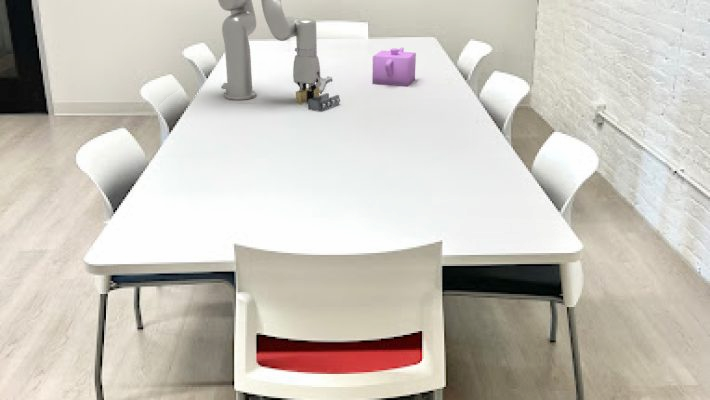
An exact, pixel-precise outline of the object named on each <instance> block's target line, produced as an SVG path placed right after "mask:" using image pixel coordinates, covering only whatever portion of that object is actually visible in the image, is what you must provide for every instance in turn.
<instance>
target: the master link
mask: <svg viewBox="0 0 710 400" xmlns="http://www.w3.org/2000/svg"><path fill="white" fill-rule="evenodd" d="M308 91H309V88H308V87H306V88H305V89H300V88H299V90H297V91H295V104H297V103H298V105H303V104H305V102H306V103H308ZM317 96H320V94H319V86H318V87H317V88H316V89H315V90H314V97H317Z"/></svg>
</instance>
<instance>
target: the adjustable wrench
mask: <svg viewBox="0 0 710 400" xmlns="http://www.w3.org/2000/svg"><path fill="white" fill-rule="evenodd" d="M330 81H331V82H333V77H332V76H328V75H327V77H322V76H320V82H321V86H319V93H321V94H323V93H322V92H324V90H325V88H324V87H326V85H327V84H328V83H331V82H330Z"/></svg>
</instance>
